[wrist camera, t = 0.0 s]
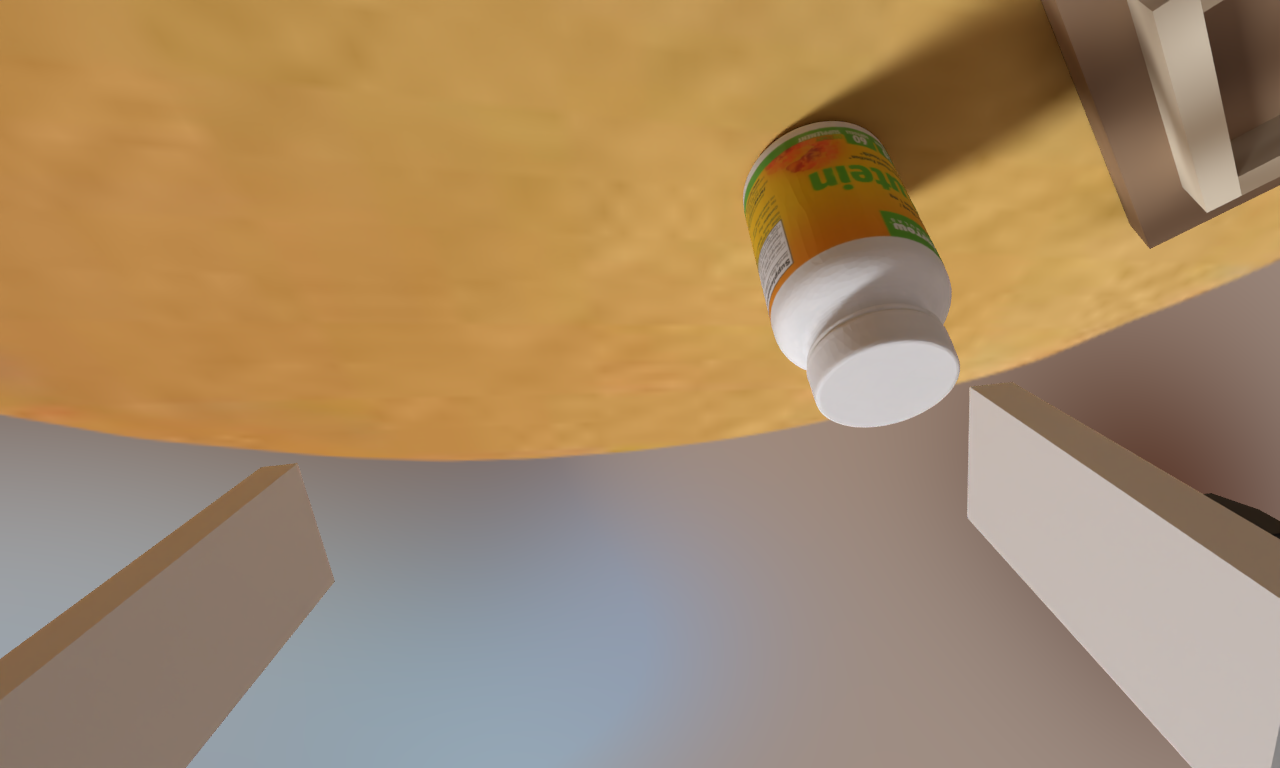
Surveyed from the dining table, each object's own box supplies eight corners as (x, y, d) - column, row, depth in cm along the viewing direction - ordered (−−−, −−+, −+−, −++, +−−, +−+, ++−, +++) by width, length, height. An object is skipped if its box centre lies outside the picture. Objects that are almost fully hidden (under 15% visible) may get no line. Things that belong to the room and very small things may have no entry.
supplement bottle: (913, 124, 23) (1032, 327, 17) (853, 245, 27) (930, 444, 21) (764, 107, 22) (831, 314, 16) (725, 235, 26) (767, 438, 20)
